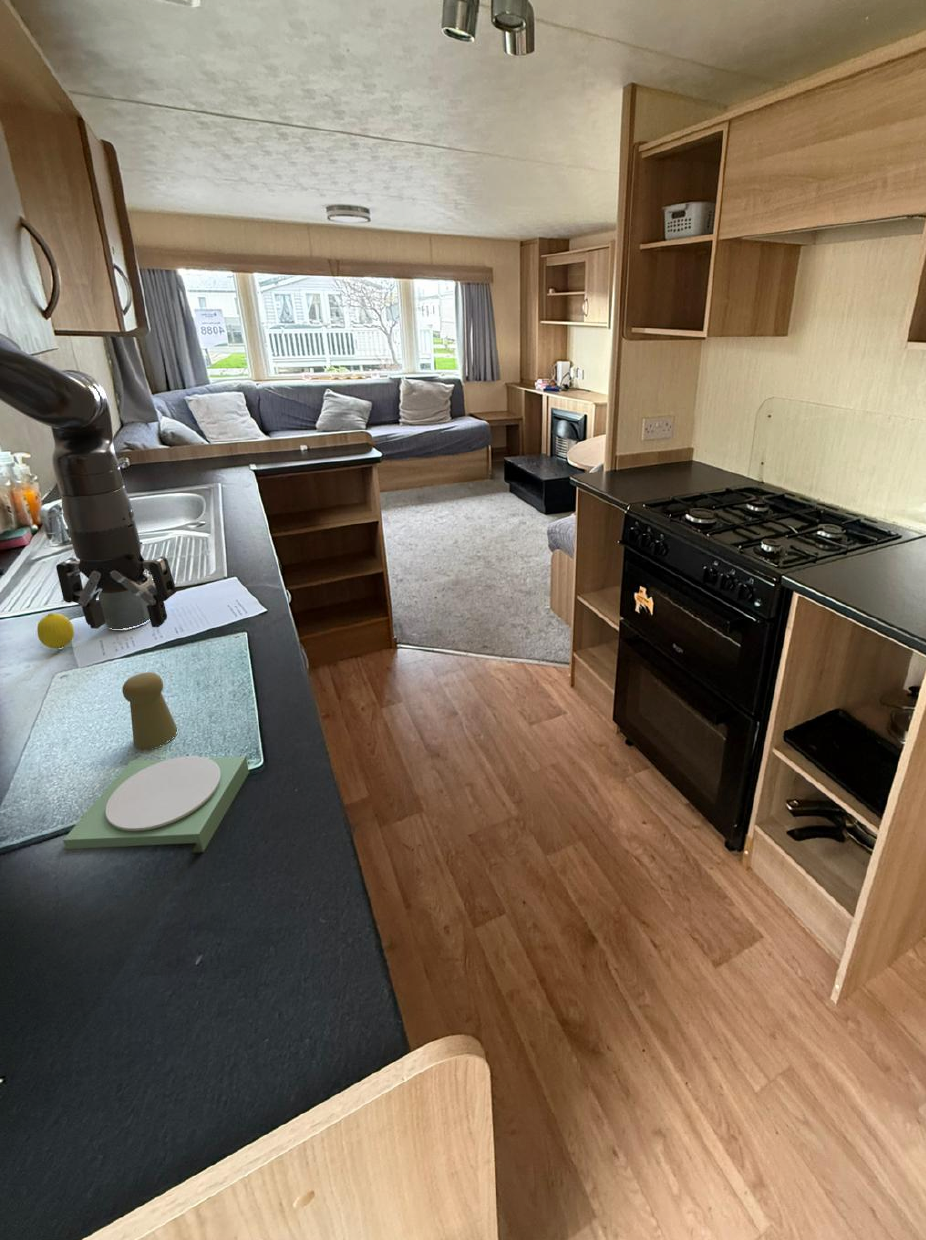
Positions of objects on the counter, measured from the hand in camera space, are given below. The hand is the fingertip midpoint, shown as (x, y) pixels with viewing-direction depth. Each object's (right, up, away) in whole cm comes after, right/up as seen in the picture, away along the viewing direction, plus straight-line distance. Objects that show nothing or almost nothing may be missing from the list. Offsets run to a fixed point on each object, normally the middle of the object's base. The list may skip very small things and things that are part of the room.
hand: (129, 625), depth 87 cm
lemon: (-36, -10, +32) cm, 50 cm away
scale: (+10, -24, -7) cm, 27 cm away
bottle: (-30, -6, +43) cm, 53 cm away
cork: (-1, -19, +7) cm, 20 cm away
